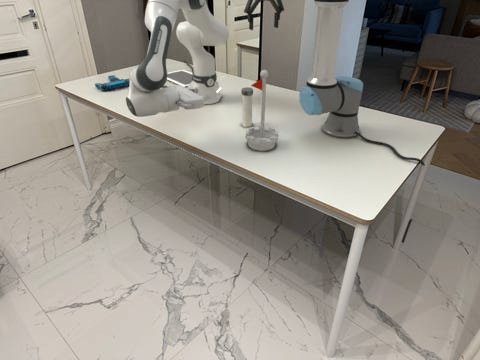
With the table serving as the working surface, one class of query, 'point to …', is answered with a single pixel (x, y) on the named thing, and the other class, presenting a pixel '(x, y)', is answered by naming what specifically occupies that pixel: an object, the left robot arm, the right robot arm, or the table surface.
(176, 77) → the tablet
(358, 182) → the table surface
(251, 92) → the lid
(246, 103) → the jar
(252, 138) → the flag stand
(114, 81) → the submachine gun
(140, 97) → the left robot arm
